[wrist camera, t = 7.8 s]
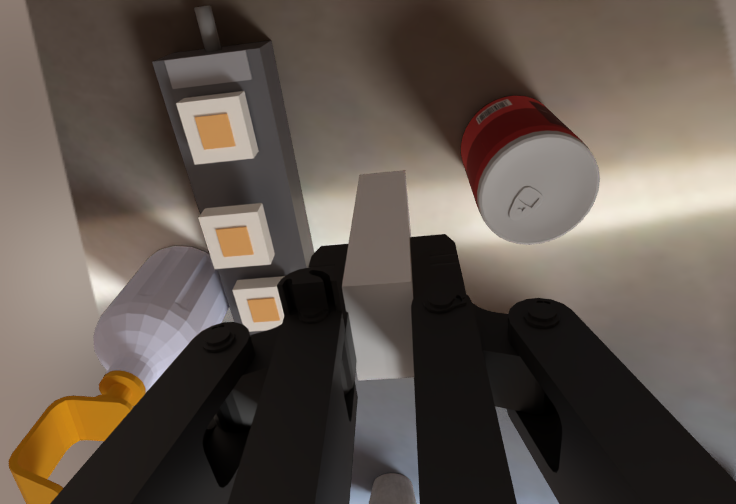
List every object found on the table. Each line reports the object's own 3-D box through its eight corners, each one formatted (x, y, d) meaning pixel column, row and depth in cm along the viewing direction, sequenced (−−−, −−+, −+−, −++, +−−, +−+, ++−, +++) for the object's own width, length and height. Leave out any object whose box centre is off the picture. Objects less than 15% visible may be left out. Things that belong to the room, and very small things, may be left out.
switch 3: (248, 257, 49) (231, 291, 44) (295, 253, 48) (283, 287, 43) (259, 296, 51) (244, 333, 46) (304, 292, 50) (294, 329, 45)
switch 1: (201, 86, 41) (175, 103, 36) (256, 79, 40) (237, 96, 35) (217, 141, 43) (194, 165, 38) (269, 135, 43) (253, 159, 38)
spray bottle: (238, 321, 53) (134, 561, 32) (152, 315, 53) (-8, 551, 32) (230, 246, 49) (104, 468, 27) (136, 241, 49) (-62, 457, 28)
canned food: (446, 171, 44) (460, 229, 34) (481, 80, 40) (509, 117, 31) (528, 195, 45) (564, 258, 35) (570, 107, 41) (624, 152, 31)
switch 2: (220, 188, 43) (197, 218, 38) (272, 183, 43) (256, 212, 38) (233, 235, 45) (213, 270, 40) (284, 231, 45) (270, 265, 40)
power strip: (160, 11, 39) (136, 16, 35) (262, -3, 38) (248, 1, 34) (250, 316, 53) (239, 342, 49) (325, 310, 52) (320, 336, 48)
